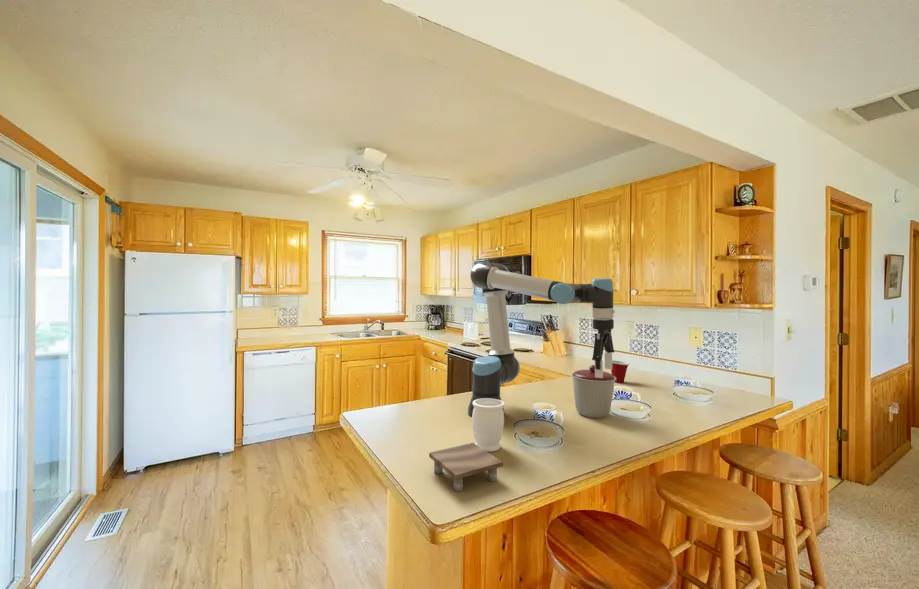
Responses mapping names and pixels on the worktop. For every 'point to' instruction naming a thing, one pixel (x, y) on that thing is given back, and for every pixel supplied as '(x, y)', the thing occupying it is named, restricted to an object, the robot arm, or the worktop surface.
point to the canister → (593, 392)
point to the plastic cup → (619, 370)
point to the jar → (488, 423)
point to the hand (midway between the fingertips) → (603, 373)
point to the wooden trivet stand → (465, 463)
